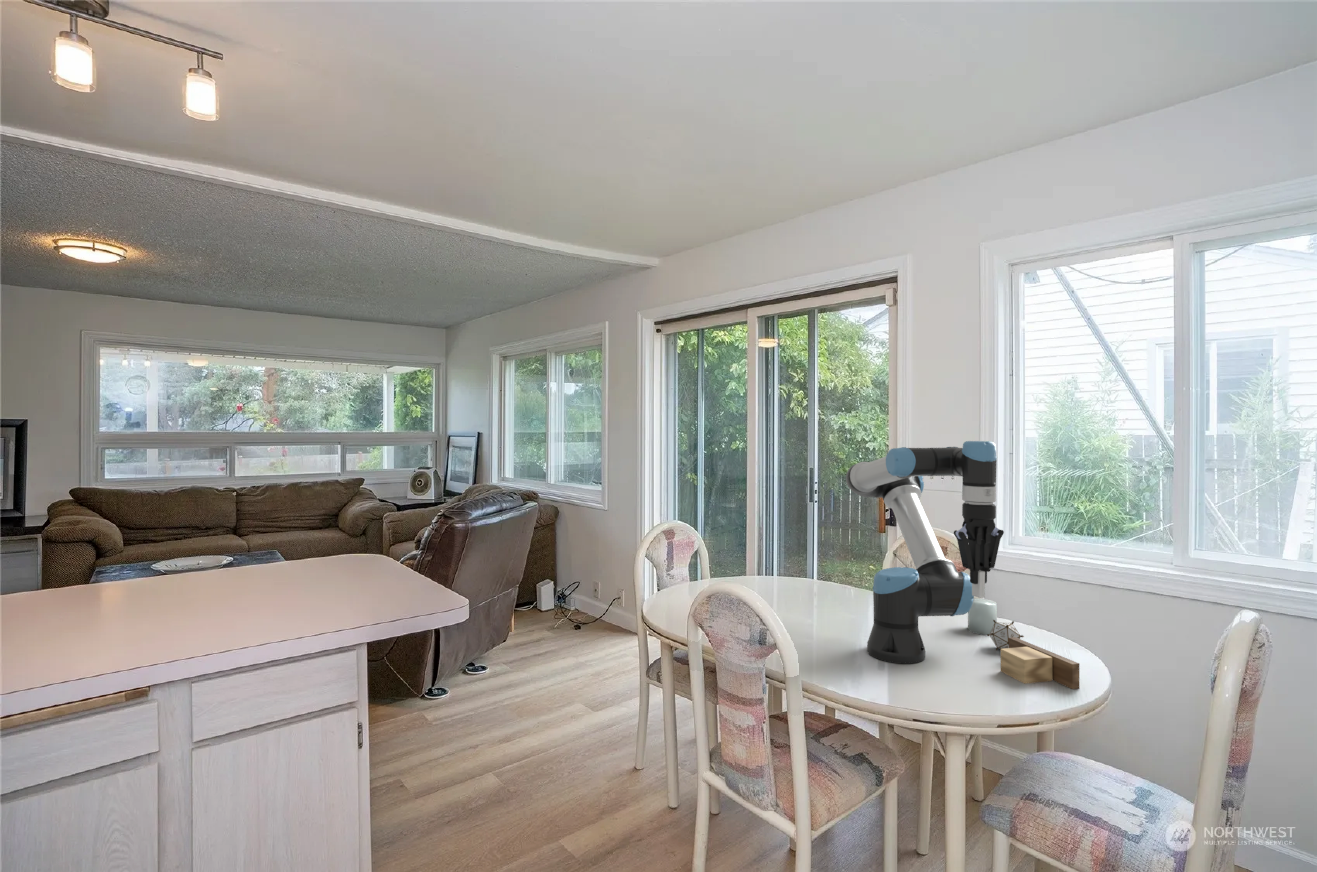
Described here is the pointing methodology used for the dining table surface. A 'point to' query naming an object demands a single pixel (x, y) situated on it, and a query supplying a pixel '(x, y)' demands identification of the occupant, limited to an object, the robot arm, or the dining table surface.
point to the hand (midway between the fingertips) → (978, 596)
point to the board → (1055, 664)
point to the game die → (1003, 634)
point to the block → (1026, 664)
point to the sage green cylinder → (982, 616)
